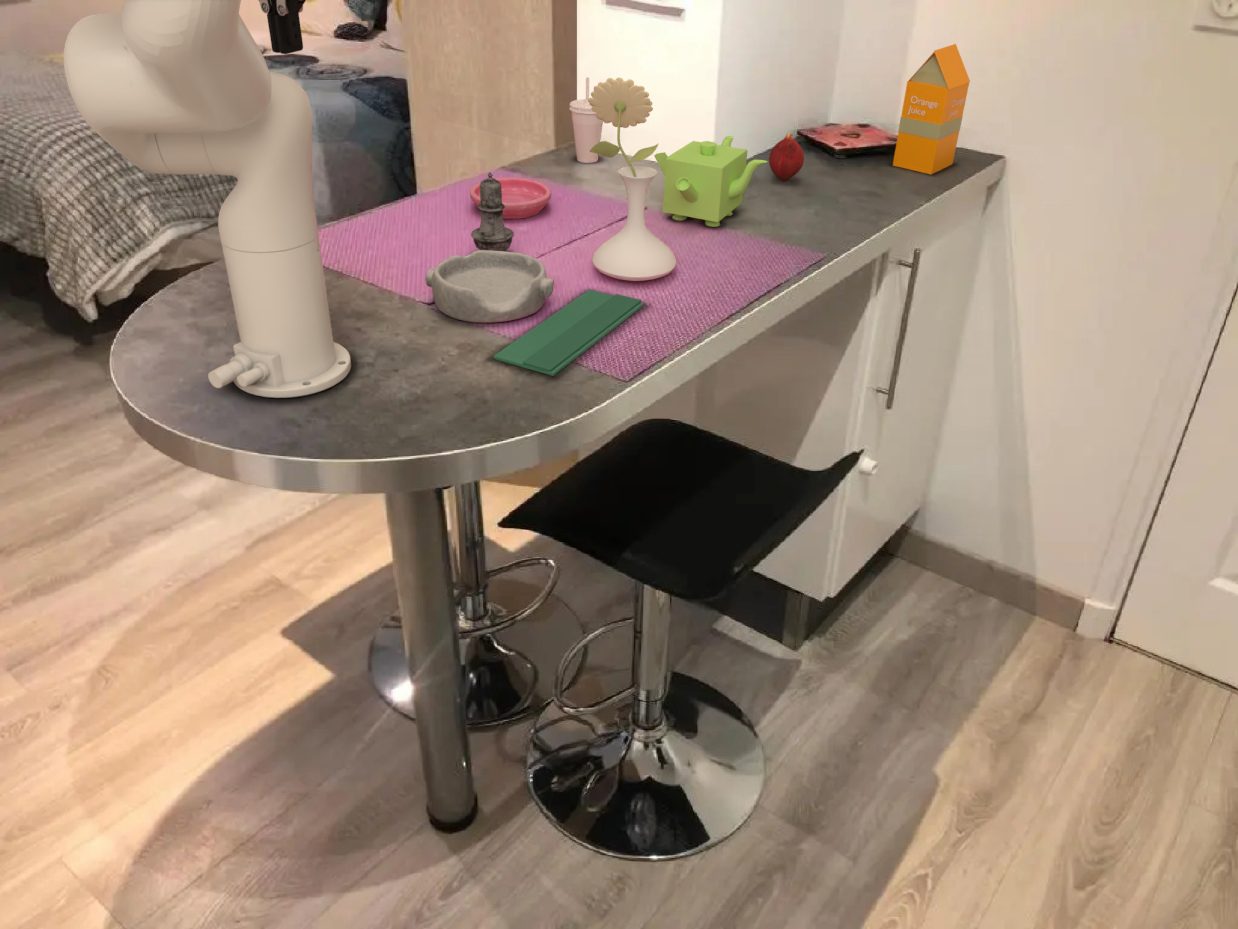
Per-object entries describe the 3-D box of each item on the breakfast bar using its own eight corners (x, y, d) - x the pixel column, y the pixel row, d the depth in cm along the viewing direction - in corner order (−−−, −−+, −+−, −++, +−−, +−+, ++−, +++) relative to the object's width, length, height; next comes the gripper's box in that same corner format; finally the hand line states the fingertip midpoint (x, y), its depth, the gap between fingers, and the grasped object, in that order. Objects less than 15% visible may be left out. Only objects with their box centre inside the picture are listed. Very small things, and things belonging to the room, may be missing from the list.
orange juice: (891, 165, 183) (912, 47, 172) (914, 155, 189) (935, 40, 178) (932, 174, 179) (955, 54, 168) (953, 164, 184) (978, 46, 173)
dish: (567, 309, 128) (567, 272, 125) (473, 338, 120) (471, 299, 117) (502, 273, 137) (501, 237, 134) (411, 298, 129) (408, 260, 126)
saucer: (561, 200, 162) (561, 181, 160) (536, 227, 152) (536, 206, 150) (487, 192, 164) (486, 173, 162) (458, 217, 154) (457, 197, 152)
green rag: (553, 376, 113) (553, 370, 112) (493, 358, 116) (493, 353, 116) (643, 305, 129) (644, 300, 129) (589, 292, 132) (589, 287, 132)
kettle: (726, 196, 166) (732, 126, 160) (767, 226, 155) (776, 152, 149) (641, 205, 161) (644, 133, 155) (677, 236, 150) (682, 160, 144)
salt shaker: (507, 268, 138) (504, 180, 132) (466, 263, 139) (461, 176, 132) (519, 252, 143) (517, 167, 136) (479, 248, 144) (475, 163, 137)
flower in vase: (689, 266, 140) (702, 77, 127) (652, 295, 132) (662, 96, 118) (606, 248, 145) (610, 64, 132) (565, 274, 137) (565, 81, 123)
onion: (803, 187, 171) (809, 138, 167) (768, 185, 171) (774, 137, 167) (798, 176, 176) (804, 129, 172) (765, 175, 176) (770, 128, 171)
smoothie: (566, 163, 178) (565, 80, 171) (573, 153, 184) (573, 71, 176) (601, 166, 178) (603, 82, 170) (608, 155, 183) (610, 74, 175)
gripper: (179, -142, 104) (214, 48, 114) (290, -134, 98) (315, 65, 108) (235, -144, 110) (263, 37, 120) (342, -137, 104) (362, 53, 114)
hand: (288, 50), depth 114 cm, fingers closed
